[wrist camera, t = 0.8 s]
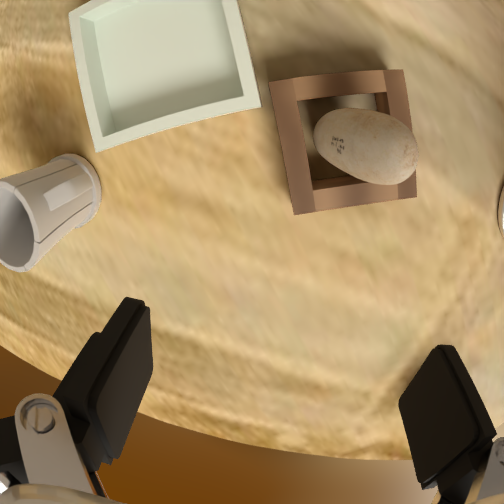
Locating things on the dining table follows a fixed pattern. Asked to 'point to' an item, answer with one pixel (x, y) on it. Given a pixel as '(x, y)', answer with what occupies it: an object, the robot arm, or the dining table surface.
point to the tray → (160, 65)
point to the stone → (367, 145)
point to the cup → (45, 208)
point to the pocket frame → (293, 145)
